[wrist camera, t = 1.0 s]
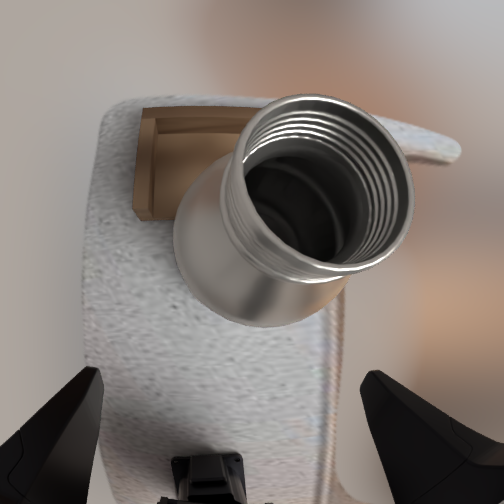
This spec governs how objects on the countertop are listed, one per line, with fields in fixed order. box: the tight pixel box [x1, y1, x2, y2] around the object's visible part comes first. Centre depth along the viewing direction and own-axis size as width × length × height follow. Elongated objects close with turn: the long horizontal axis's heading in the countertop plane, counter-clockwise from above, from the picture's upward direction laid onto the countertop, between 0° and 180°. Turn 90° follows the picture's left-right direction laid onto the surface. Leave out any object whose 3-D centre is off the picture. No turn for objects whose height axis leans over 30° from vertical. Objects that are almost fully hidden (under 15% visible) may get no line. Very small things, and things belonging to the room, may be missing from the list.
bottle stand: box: [132, 106, 262, 221], centre depth 24 cm, size 9×14×4 cm, turn 93°
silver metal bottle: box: [173, 94, 415, 328], centre depth 15 cm, size 6×7×20 cm
